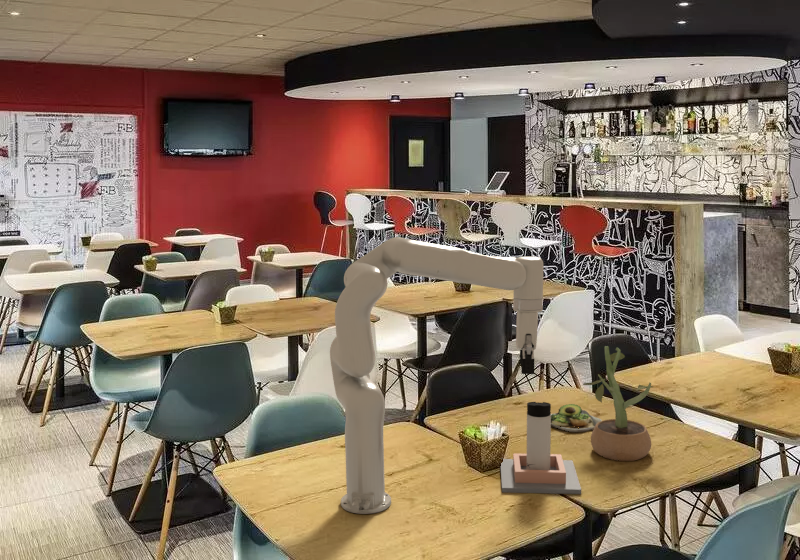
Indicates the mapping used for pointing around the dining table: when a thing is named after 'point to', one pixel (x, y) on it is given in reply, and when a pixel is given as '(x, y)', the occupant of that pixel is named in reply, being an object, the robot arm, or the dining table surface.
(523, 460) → the collar plate
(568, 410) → the salad plate
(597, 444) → the potted plant
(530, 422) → the travel mug
